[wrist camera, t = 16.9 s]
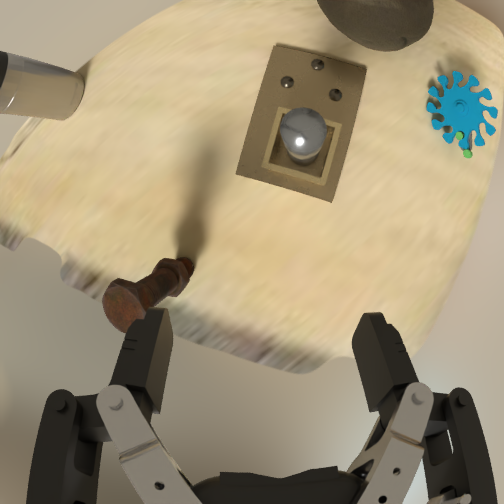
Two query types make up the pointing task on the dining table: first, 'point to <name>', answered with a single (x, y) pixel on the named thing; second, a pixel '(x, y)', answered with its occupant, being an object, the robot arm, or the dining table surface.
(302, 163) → the pin
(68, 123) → the dining table surface
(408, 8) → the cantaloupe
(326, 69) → the hinge leaf
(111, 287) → the bolt
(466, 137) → the blue lobed toy
